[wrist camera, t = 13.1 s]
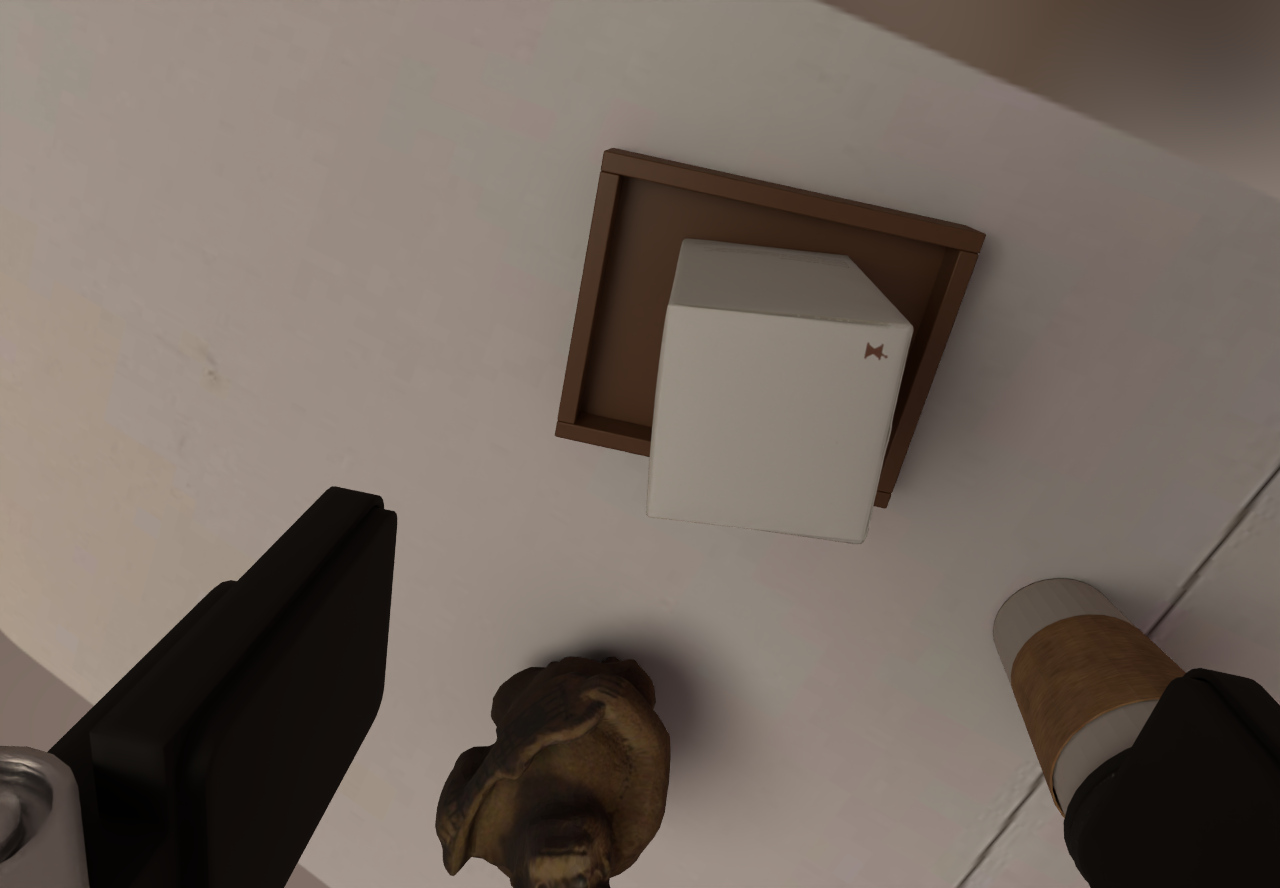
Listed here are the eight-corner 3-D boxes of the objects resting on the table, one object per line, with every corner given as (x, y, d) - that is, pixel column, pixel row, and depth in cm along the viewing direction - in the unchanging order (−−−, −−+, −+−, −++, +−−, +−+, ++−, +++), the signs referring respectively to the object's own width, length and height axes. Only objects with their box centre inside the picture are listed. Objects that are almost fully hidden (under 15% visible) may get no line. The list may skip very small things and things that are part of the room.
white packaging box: (680, 233, 35) (665, 293, 23) (852, 253, 34) (925, 324, 23) (661, 394, 37) (639, 520, 26) (820, 414, 37) (870, 550, 25)
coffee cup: (988, 547, 40) (1136, 774, 26) (1161, 565, 40) (1402, 805, 26) (950, 682, 43) (1063, 947, 30) (1110, 701, 43) (1300, 978, 29)
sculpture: (654, 590, 39) (668, 958, 29) (677, 676, 47) (693, 984, 38) (440, 608, 40) (388, 970, 30) (500, 689, 48) (474, 992, 39)
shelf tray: (611, 147, 34) (604, 150, 32) (966, 225, 34) (986, 234, 32) (564, 415, 39) (554, 436, 37) (875, 483, 39) (886, 509, 37)
